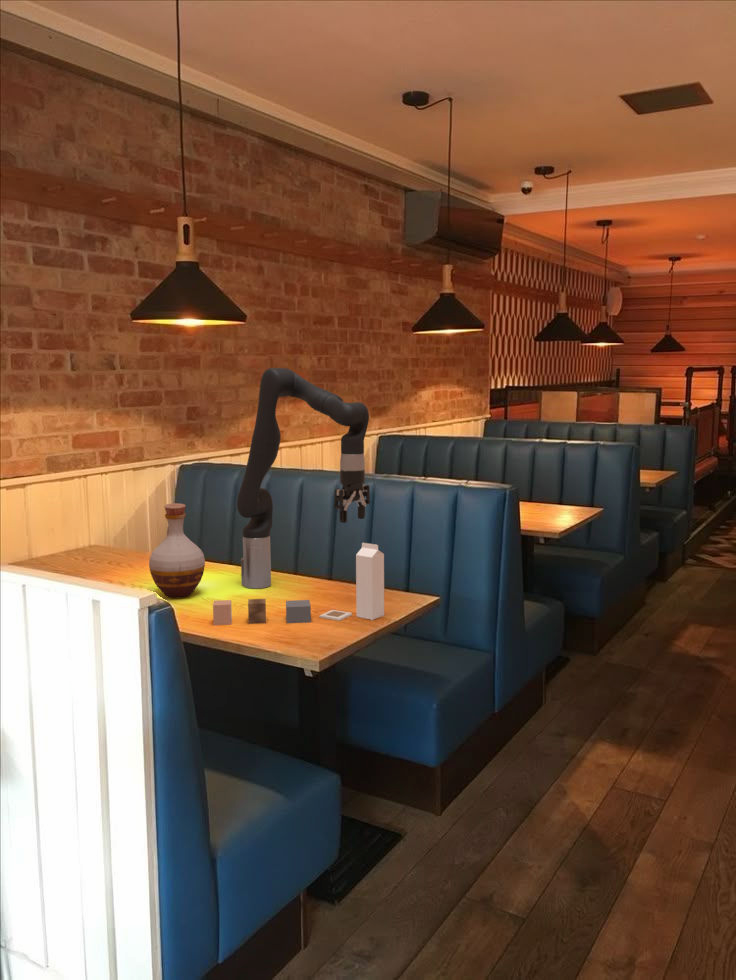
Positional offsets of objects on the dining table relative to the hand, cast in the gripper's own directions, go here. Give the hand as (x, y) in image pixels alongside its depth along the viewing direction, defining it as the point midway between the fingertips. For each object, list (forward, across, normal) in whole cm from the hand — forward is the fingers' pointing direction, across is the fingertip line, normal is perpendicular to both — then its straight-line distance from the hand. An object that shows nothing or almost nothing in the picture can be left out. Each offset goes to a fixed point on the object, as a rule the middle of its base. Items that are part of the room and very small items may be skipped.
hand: (352, 520), depth 256 cm
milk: (+27, +6, +12) cm, 30 cm away
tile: (+27, +12, +4) cm, 30 cm away
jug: (+28, +25, -54) cm, 66 cm away
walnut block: (+27, +30, -11) cm, 42 cm away
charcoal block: (+27, +21, -3) cm, 35 cm away
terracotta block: (+27, +37, -18) cm, 49 cm away
